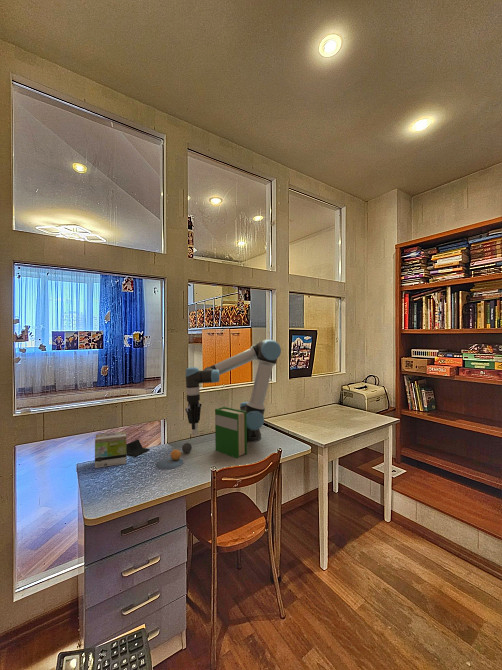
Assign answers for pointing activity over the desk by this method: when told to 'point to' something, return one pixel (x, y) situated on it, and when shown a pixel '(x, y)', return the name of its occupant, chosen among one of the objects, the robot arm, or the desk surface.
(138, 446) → the black bookend
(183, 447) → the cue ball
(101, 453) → the tea box
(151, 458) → the desk surface
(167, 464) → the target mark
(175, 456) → the orange ball
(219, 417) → the hardback book
